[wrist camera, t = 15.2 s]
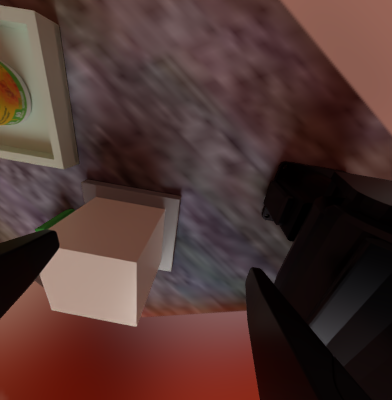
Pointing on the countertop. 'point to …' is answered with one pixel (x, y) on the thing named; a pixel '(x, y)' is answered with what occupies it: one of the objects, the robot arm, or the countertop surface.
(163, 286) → the countertop surface
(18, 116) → the supplement bottle
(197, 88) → the countertop surface
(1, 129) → the tray
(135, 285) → the plain beige box
